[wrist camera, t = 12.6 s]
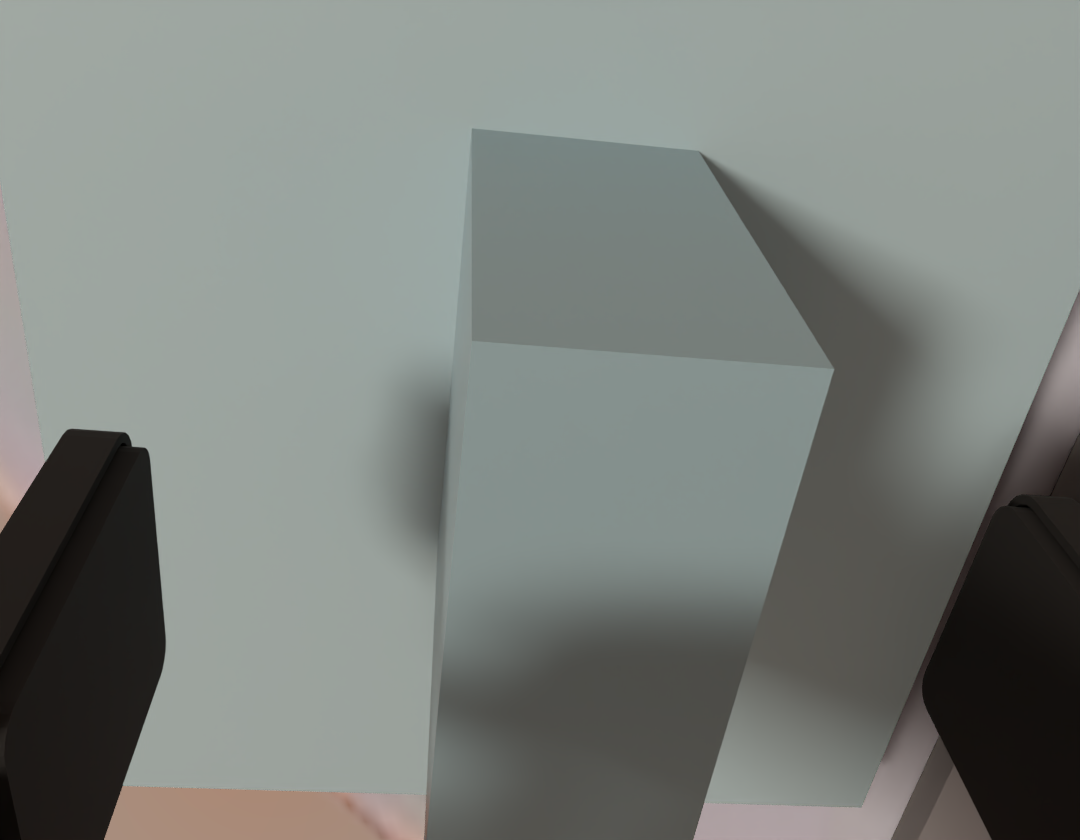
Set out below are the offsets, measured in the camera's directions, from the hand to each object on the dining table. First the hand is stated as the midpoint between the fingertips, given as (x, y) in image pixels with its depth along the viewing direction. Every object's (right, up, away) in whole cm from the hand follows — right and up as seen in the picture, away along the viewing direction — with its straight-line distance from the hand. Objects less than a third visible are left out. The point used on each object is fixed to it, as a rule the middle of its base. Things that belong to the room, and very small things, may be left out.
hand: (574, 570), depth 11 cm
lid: (0, +4, +6) cm, 7 cm away
